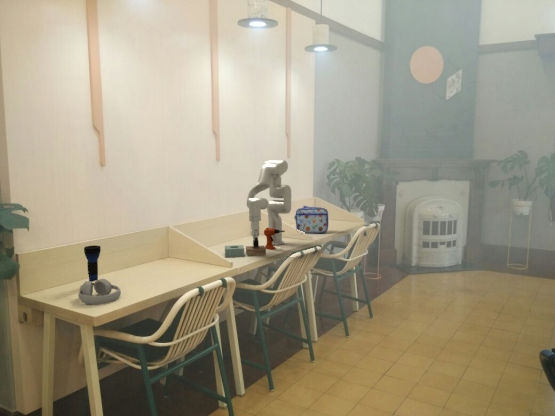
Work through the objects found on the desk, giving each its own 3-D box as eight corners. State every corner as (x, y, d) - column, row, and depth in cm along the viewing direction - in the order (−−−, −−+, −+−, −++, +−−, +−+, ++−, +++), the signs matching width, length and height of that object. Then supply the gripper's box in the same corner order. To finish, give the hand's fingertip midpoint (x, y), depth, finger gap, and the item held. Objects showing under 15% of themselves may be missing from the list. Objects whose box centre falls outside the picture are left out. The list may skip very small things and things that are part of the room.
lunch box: (293, 234, 398) (293, 206, 395) (295, 231, 408) (294, 205, 406) (328, 234, 394) (328, 206, 392) (328, 232, 404) (328, 205, 402)
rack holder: (224, 253, 330) (224, 245, 329) (243, 252, 331) (242, 244, 331) (225, 257, 318) (225, 249, 317) (244, 256, 319) (244, 248, 319)
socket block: (246, 252, 331) (245, 246, 331) (264, 251, 333) (263, 245, 332) (247, 256, 320) (247, 249, 319) (266, 255, 321) (265, 249, 321)
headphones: (72, 296, 236) (85, 312, 221) (72, 280, 234) (84, 295, 219) (111, 289, 247) (125, 304, 231) (111, 274, 245) (125, 288, 230)
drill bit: (253, 252, 328) (252, 237, 327) (258, 252, 328) (257, 237, 327) (253, 253, 325) (253, 238, 323) (258, 253, 325) (258, 238, 324)
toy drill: (284, 249, 330) (281, 227, 330) (263, 249, 342) (261, 228, 342) (289, 248, 334) (286, 226, 333) (268, 248, 346) (265, 227, 346)
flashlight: (105, 284, 258) (103, 246, 255) (90, 287, 252) (87, 249, 250) (98, 281, 263) (96, 244, 261) (83, 284, 258) (81, 246, 255)
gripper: (248, 216, 331) (249, 244, 334) (250, 220, 315) (251, 249, 317) (259, 216, 332) (260, 243, 334) (262, 220, 316) (262, 248, 318)
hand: (255, 245), depth 326 cm, fingers closed on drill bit, 3 cm apart
